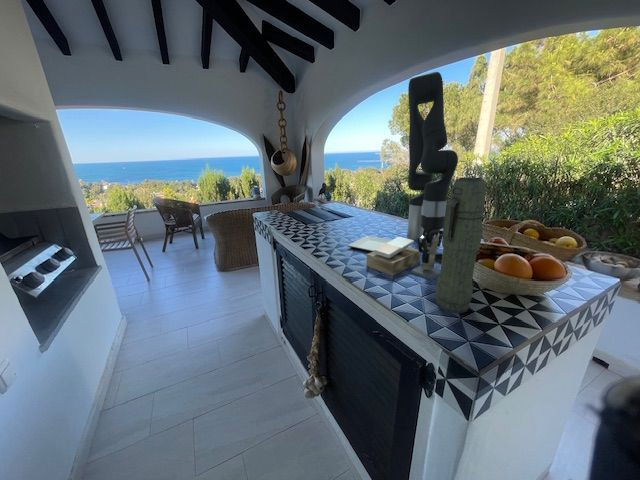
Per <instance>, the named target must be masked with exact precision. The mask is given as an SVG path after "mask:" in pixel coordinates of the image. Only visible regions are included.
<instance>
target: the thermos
mask: <svg viewBox="0 0 640 480" xmlns="http://www.w3.org/2000/svg"><path fill="white" fill-rule="evenodd" d="M485 182H486V181H485V180H484V179H482V178H481V177H459V178H458V179H456V180H455V181H454V183H453V185H452V186H451V189H450V196H449V199H448V201H447V202H446V203H447V205H446V211H445V220H444V228H443V229H442V231H443V236H442V241H441V245H442V248H443V249H442V253H443V254H442V262H441V264H440V276H438V277H437V278H436V287H435V297H434V298H435V299H434V300H435V302H434V303H435V304H436V306H437V307H439V308H440V309H441V310H443V311H446V312H449V313H453V314H458V313H459V314H463V313H467V312H468V311H469V310H470V303H471V301H472V296H473V290H474V286H473V285H474V284H473V279H474V278H473V276H474V272H475V271H474V270H475V265H476V259H477V253H478V251H479V250H480V248H481V243H482V236H483V231H484V227H483V223H482V222H483V216H484V211H485V204H486V196H487V187H486V183H485Z"/></svg>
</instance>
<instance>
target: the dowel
mask: <svg viewBox="0 0 640 480" xmlns="http://www.w3.org/2000/svg"><path fill="white" fill-rule="evenodd" d="M437 237H438V236H436V237H435V239H434V242H433V246H432V247H431V249H430V255H429V263H427V264H426V263H423V262H422V261H421V265H422V268H423V269H426V270H432V269H433V268H435V262H436V261H435V253H436V254H437V250H436V245H437ZM427 244H430V243H427ZM427 249H428V247H427Z"/></svg>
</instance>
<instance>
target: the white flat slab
mask: <svg viewBox="0 0 640 480" xmlns="http://www.w3.org/2000/svg"><path fill="white" fill-rule="evenodd" d="M391 240H392V241H390V242H388V243H386V244H384V245H382V246H381V247H379V248H377V249H375V250H374V254H377V255H381V256H384V257H387V258H391V257H392V256H394V255H396V254H397V253H399V252H400V251H402V250H404V249H405V248H407V247H410V246H412V245H413V244H415V240H413V239H409V238H408V237H406V238H405V237H403V236H402V237H401V236H397V237H395V238H393V239H391Z"/></svg>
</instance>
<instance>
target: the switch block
mask: <svg viewBox="0 0 640 480" xmlns="http://www.w3.org/2000/svg"><path fill="white" fill-rule="evenodd" d="M421 253H422V252H419V249H416V248H413V247H410V246H409V247H407V248H405V249H404V250H402V251H400V252H399V253H397V254H396V255H394V256H392V257H391V258H387V257H384V256H381V255H377V254H374V252H369V253H366V267H368V268H371V269H373V270H375V271H378V272H381V273H384V274H386V275H388V276H391V277H393V276H396V275H397V274H399V273H401V272H403V271H406V270H408V269H409V268H411V267H413V266H415V265H417V264H418V263H420V261H421Z"/></svg>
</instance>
